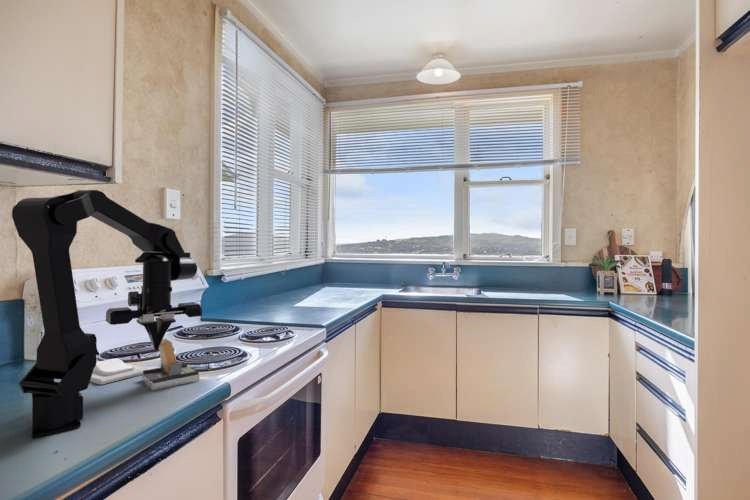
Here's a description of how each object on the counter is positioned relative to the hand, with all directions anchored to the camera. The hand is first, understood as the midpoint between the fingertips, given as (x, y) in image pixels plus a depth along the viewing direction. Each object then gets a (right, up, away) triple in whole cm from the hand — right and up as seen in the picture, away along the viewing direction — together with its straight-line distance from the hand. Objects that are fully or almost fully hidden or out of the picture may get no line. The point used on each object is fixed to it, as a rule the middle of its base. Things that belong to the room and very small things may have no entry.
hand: (155, 350), depth 91 cm
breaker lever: (+2, -5, +2) cm, 6 cm away
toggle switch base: (+2, -8, +2) cm, 8 cm away
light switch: (-14, -8, +6) cm, 17 cm away
